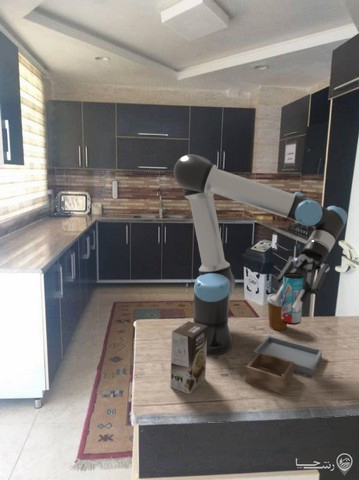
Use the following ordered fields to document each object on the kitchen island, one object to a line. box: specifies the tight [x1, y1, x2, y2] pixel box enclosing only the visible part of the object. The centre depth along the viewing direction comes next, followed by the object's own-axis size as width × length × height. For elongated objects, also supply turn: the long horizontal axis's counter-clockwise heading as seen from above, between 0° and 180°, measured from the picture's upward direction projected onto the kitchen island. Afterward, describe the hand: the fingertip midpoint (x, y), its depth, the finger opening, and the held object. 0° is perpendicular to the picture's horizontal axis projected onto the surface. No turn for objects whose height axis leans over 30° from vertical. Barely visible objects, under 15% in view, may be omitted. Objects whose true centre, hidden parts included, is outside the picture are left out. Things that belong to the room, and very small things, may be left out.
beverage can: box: [281, 273, 304, 326], centre depth 108 cm, size 6×6×15 cm
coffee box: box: [169, 320, 208, 395], centre depth 96 cm, size 9×6×16 cm
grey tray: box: [252, 335, 323, 378], centre depth 112 cm, size 18×14×2 cm
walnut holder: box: [244, 352, 295, 395], centre depth 100 cm, size 11×11×4 cm
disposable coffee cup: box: [266, 293, 288, 331], centre depth 135 cm, size 10×10×12 cm
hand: (284, 306), depth 106 cm, fingers closed on beverage can, 6 cm apart
